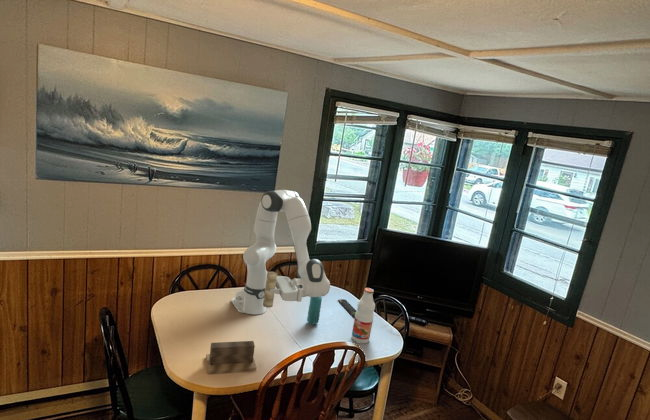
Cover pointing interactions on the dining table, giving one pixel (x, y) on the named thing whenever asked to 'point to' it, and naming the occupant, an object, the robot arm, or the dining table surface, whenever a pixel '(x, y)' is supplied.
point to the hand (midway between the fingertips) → (268, 287)
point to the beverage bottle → (314, 310)
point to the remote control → (348, 307)
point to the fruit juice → (364, 317)
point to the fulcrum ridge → (231, 357)
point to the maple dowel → (269, 284)
